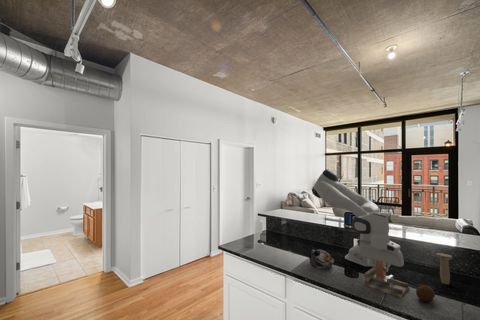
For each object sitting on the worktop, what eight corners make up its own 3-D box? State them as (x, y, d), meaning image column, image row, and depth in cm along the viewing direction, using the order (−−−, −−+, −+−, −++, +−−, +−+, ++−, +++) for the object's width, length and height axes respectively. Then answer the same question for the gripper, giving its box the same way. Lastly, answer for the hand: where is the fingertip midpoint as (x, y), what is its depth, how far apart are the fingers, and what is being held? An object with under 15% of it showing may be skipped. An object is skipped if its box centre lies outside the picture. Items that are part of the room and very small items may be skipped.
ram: (371, 282, 120) (370, 259, 121) (376, 278, 125) (375, 256, 125) (389, 288, 114) (388, 264, 114) (393, 283, 118) (393, 260, 119)
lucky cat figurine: (335, 265, 146) (338, 249, 139) (328, 278, 137) (332, 262, 131) (312, 253, 154) (315, 238, 148) (305, 265, 146) (307, 250, 140)
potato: (436, 298, 107) (435, 282, 108) (434, 308, 99) (433, 292, 99) (418, 292, 112) (417, 278, 112) (415, 302, 103) (414, 287, 104)
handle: (437, 279, 125) (436, 252, 126) (453, 284, 120) (452, 255, 121) (437, 282, 122) (435, 254, 123) (453, 287, 117) (451, 257, 118)
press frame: (365, 285, 120) (364, 273, 120) (374, 277, 128) (374, 266, 128) (401, 297, 107) (400, 284, 108) (408, 288, 116) (408, 276, 116)
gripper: (357, 240, 127) (357, 265, 126) (400, 249, 111) (401, 278, 110) (361, 237, 131) (362, 262, 130) (404, 246, 115) (405, 274, 114)
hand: (380, 269), depth 120 cm, fingers closed on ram, 4 cm apart
